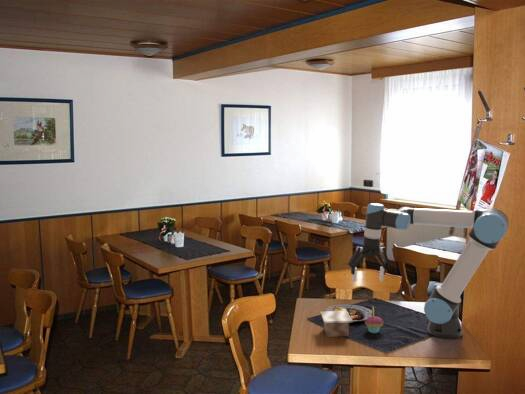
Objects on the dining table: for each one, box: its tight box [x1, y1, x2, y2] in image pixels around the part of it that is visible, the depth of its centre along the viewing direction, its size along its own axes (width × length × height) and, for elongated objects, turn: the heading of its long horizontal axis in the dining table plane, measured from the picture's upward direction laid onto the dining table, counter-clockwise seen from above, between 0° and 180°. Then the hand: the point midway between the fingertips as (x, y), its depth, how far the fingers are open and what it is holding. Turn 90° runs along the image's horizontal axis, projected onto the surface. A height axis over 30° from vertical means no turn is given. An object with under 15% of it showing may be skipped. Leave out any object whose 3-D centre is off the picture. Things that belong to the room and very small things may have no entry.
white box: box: [319, 310, 354, 338], centre depth 245 cm, size 13×13×8 cm
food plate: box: [325, 303, 373, 323], centre depth 266 cm, size 25×23×4 cm
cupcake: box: [364, 306, 384, 334], centre depth 245 cm, size 9×8×12 cm
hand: (367, 280), depth 244 cm, fingers open, 13 cm apart
